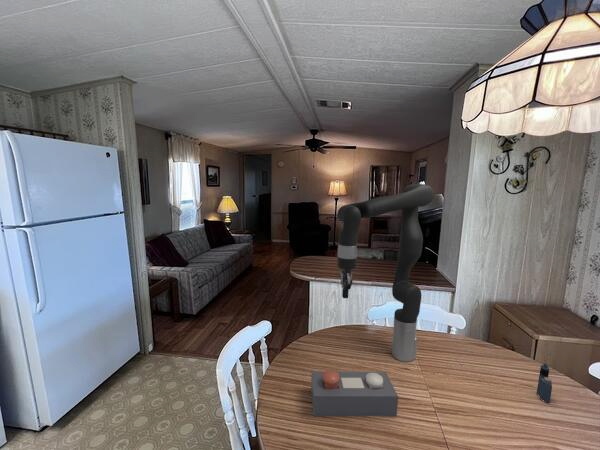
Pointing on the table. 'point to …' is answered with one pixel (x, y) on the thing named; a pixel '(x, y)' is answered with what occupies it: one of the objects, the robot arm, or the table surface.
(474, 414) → the table surface
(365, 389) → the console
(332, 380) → the red plunger
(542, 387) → the vaping device
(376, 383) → the white plunger
